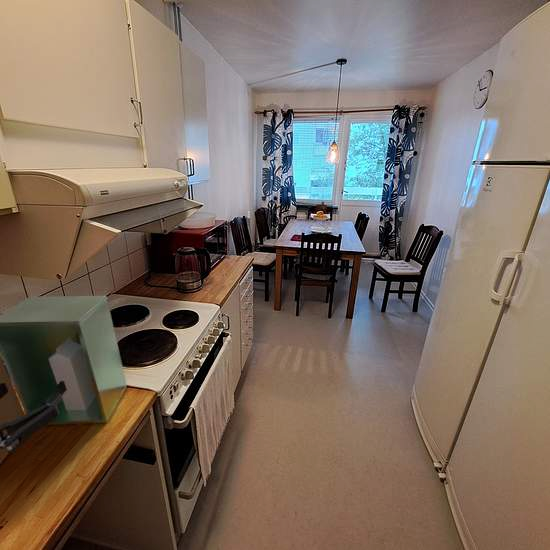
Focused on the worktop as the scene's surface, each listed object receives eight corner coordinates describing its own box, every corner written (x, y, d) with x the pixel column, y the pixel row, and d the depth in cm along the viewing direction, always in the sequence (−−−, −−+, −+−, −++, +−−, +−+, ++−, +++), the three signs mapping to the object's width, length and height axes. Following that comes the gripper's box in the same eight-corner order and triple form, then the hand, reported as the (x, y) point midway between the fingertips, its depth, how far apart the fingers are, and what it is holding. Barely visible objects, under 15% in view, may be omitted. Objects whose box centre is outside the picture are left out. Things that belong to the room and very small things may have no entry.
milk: (66, 410, 85) (43, 349, 76) (79, 394, 90) (59, 336, 82) (86, 410, 85) (66, 349, 76) (98, 394, 90) (80, 336, 82)
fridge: (107, 422, 82) (78, 320, 70) (30, 425, 81) (-13, 322, 68) (127, 386, 95) (106, 295, 82) (61, 389, 94) (30, 296, 81)
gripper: (-121, 495, 50) (-15, 400, 70) (29, 486, 52) (91, 396, 71) (-144, 466, 47) (-27, 375, 67) (15, 458, 49) (84, 372, 68)
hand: (34, 386), depth 69 cm, fingers open, 13 cm apart
